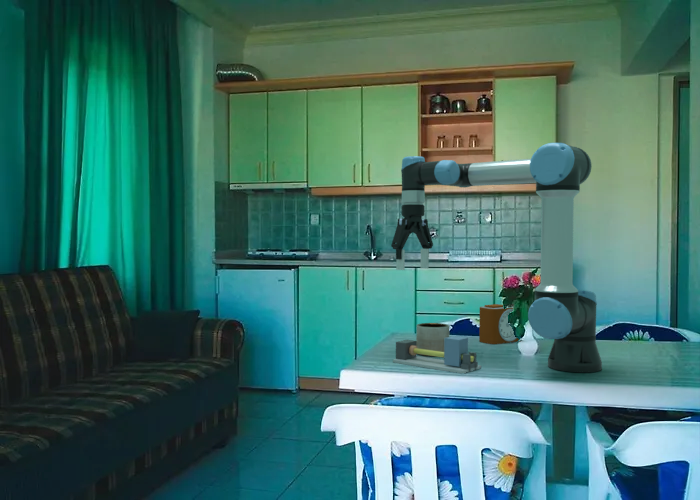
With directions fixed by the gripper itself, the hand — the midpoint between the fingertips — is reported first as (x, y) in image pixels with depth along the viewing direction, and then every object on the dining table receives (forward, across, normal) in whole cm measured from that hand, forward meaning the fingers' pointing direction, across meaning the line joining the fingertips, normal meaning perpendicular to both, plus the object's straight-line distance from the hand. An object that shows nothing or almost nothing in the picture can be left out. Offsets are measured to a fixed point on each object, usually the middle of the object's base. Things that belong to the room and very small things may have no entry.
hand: (412, 269), depth 216 cm
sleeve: (+27, +10, +23) cm, 37 cm away
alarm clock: (+28, -41, +10) cm, 51 cm away
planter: (+28, -4, +5) cm, 29 cm away
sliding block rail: (+28, +10, +16) cm, 34 cm away
